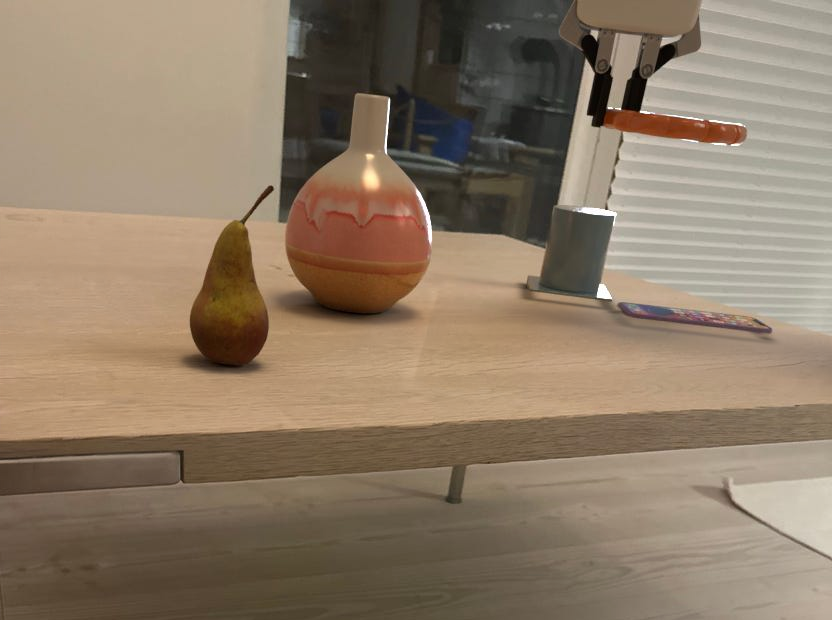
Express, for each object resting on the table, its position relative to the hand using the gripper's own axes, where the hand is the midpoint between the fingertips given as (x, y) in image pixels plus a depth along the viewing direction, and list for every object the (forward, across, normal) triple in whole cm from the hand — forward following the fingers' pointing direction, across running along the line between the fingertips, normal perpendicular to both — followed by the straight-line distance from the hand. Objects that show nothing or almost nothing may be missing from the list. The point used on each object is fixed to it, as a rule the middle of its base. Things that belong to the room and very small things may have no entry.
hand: (609, 126), depth 82 cm
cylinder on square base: (+17, -1, -17) cm, 24 cm away
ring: (-1, -5, 0) cm, 5 cm away
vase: (+18, +21, +4) cm, 28 cm away
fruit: (+18, +28, +29) cm, 44 cm away
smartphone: (+17, -14, -8) cm, 23 cm away
